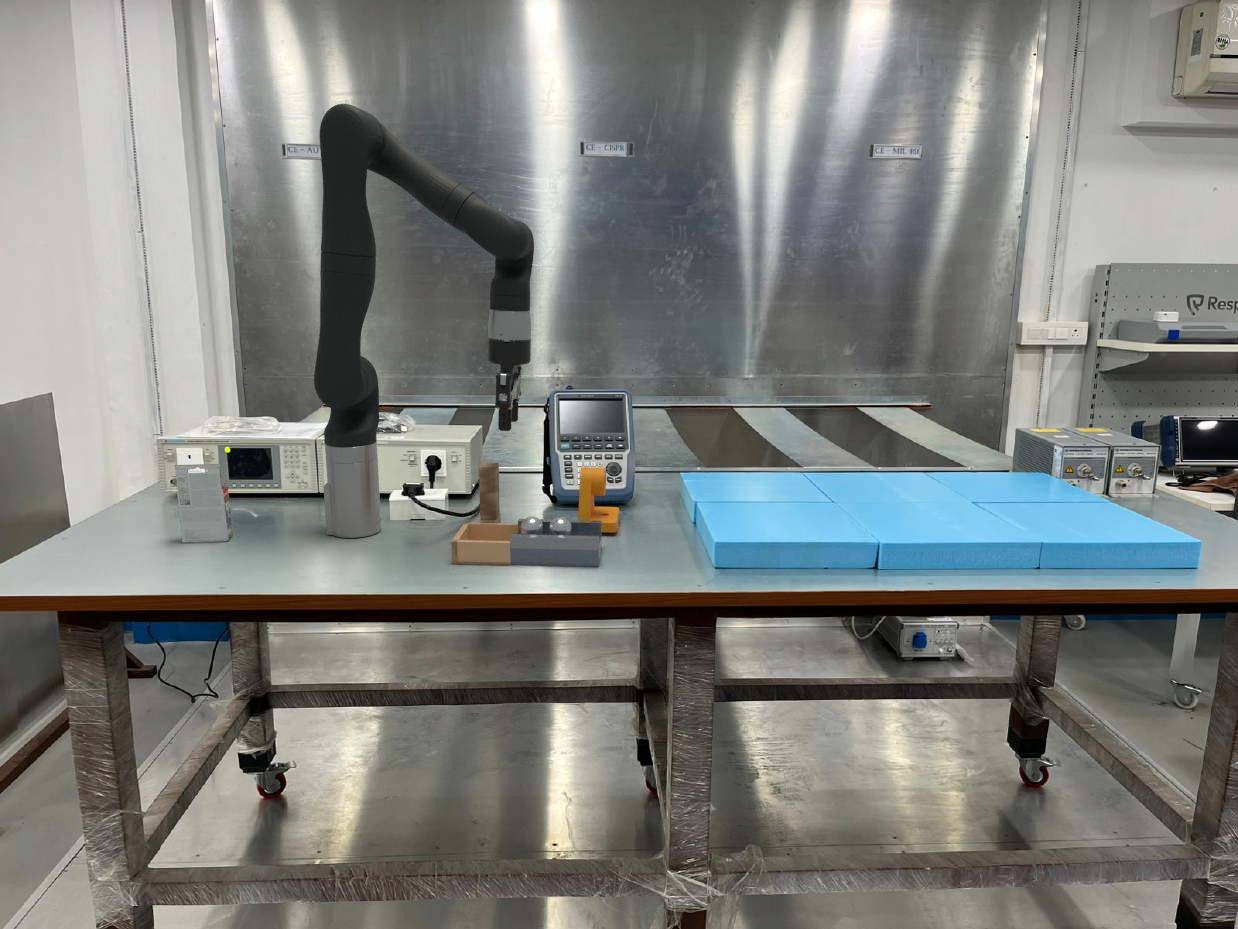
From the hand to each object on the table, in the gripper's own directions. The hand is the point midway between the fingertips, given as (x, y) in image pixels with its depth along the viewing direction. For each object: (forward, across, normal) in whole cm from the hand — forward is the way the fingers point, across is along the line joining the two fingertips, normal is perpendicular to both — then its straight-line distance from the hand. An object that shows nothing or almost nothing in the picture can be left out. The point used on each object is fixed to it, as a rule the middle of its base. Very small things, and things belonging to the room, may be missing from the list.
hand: (508, 425), depth 153 cm
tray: (+21, +10, -2) cm, 23 cm away
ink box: (+23, +5, -54) cm, 59 cm away
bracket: (+21, -7, +17) cm, 28 cm away
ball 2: (+18, +10, +11) cm, 23 cm away
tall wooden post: (+21, +1, -3) cm, 22 cm away
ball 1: (+18, +10, +6) cm, 21 cm away
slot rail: (+21, +10, +10) cm, 25 cm away
